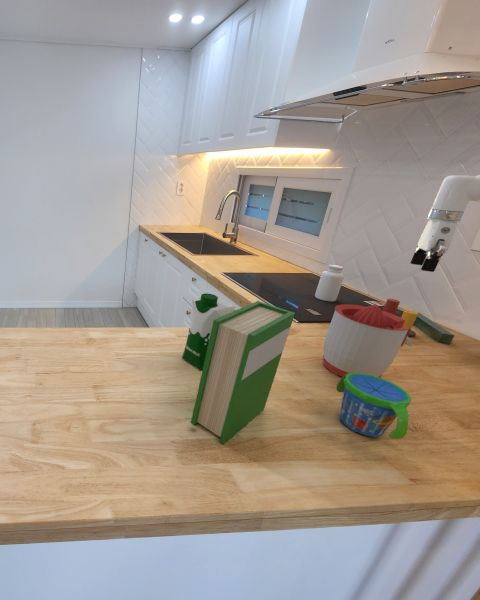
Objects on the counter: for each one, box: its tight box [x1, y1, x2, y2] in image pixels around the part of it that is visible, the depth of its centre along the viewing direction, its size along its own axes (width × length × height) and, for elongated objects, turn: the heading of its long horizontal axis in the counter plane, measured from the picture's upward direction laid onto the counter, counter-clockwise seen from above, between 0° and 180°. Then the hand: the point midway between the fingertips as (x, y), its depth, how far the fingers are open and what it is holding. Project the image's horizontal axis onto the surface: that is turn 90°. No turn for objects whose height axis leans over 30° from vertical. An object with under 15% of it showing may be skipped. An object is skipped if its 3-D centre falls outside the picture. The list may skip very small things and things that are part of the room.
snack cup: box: [335, 373, 412, 440], centre depth 71 cm, size 16×10×10 cm
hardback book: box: [190, 300, 296, 446], centre depth 69 cm, size 18×7×24 cm, turn 129°
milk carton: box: [182, 292, 236, 372], centre depth 90 cm, size 9×9×20 cm
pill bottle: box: [314, 264, 345, 302], centre depth 146 cm, size 8×8×15 cm
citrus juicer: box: [322, 303, 413, 378], centre depth 89 cm, size 16×17×20 cm
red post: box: [382, 298, 401, 315], centre depth 128 cm, size 7×7×8 cm
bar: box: [413, 312, 455, 345], centre depth 121 cm, size 3×20×3 cm, turn 161°
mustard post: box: [400, 309, 419, 338], centre depth 118 cm, size 7×7×8 cm
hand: (421, 267), depth 114 cm, fingers open, 9 cm apart
